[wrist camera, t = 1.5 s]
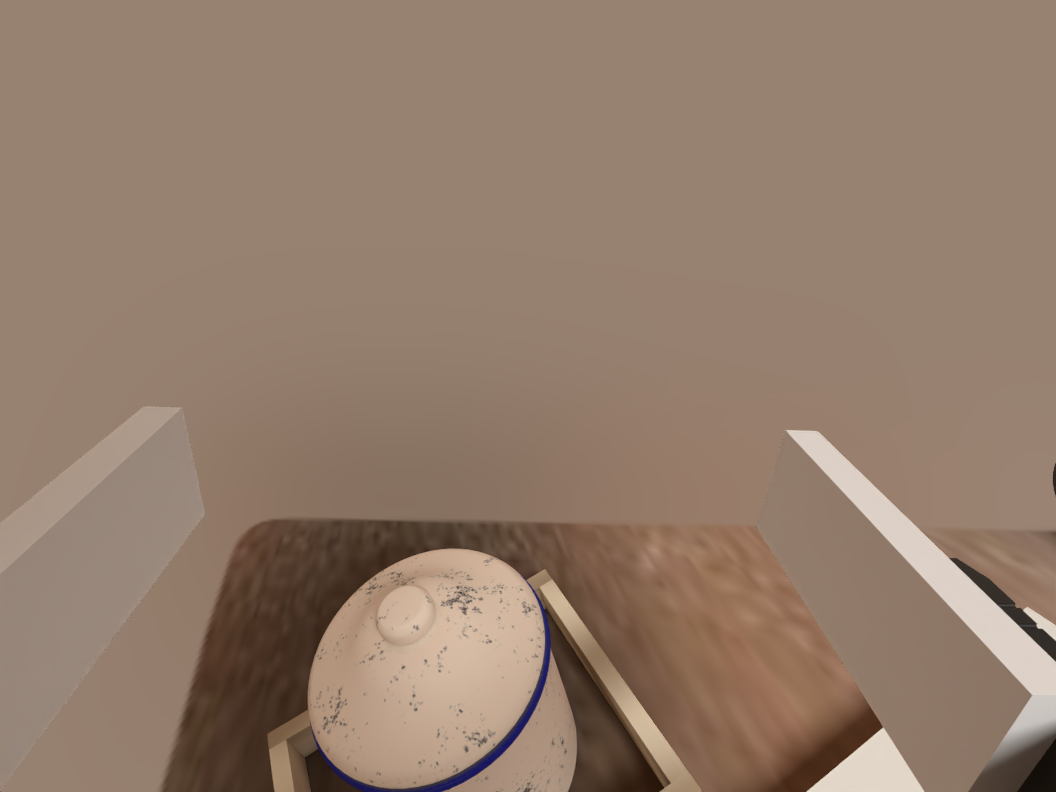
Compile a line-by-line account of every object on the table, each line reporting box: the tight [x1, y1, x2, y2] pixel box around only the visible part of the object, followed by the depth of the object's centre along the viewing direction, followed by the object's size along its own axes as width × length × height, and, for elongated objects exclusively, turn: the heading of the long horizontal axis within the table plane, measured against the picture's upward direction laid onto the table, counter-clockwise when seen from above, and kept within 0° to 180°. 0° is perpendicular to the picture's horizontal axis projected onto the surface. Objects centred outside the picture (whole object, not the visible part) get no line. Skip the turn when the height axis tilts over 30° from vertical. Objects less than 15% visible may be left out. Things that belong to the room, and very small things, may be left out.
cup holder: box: [267, 569, 702, 792], centre depth 25 cm, size 12×15×2 cm
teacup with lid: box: [308, 549, 577, 792], centre depth 22 cm, size 12×9×12 cm
